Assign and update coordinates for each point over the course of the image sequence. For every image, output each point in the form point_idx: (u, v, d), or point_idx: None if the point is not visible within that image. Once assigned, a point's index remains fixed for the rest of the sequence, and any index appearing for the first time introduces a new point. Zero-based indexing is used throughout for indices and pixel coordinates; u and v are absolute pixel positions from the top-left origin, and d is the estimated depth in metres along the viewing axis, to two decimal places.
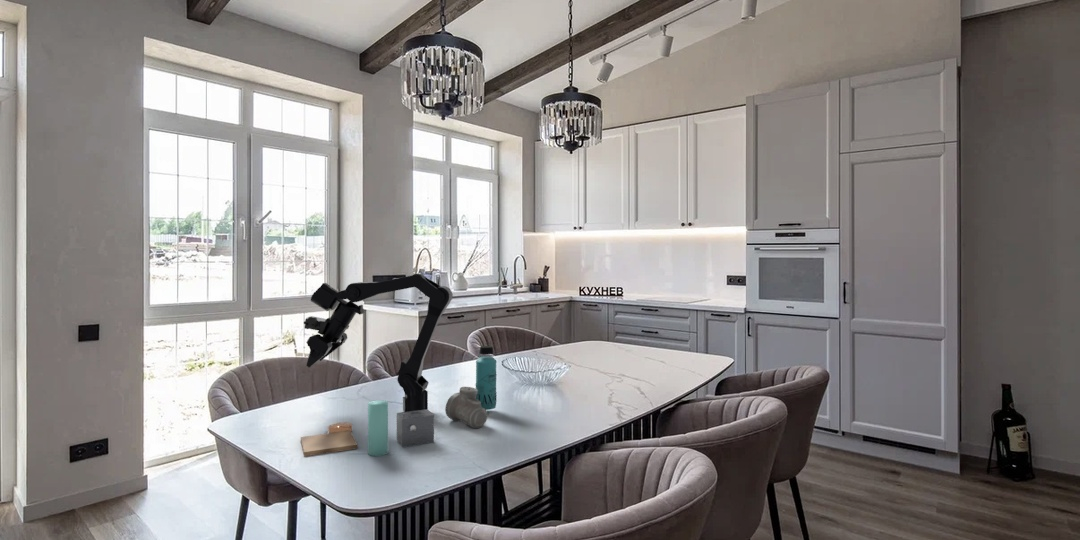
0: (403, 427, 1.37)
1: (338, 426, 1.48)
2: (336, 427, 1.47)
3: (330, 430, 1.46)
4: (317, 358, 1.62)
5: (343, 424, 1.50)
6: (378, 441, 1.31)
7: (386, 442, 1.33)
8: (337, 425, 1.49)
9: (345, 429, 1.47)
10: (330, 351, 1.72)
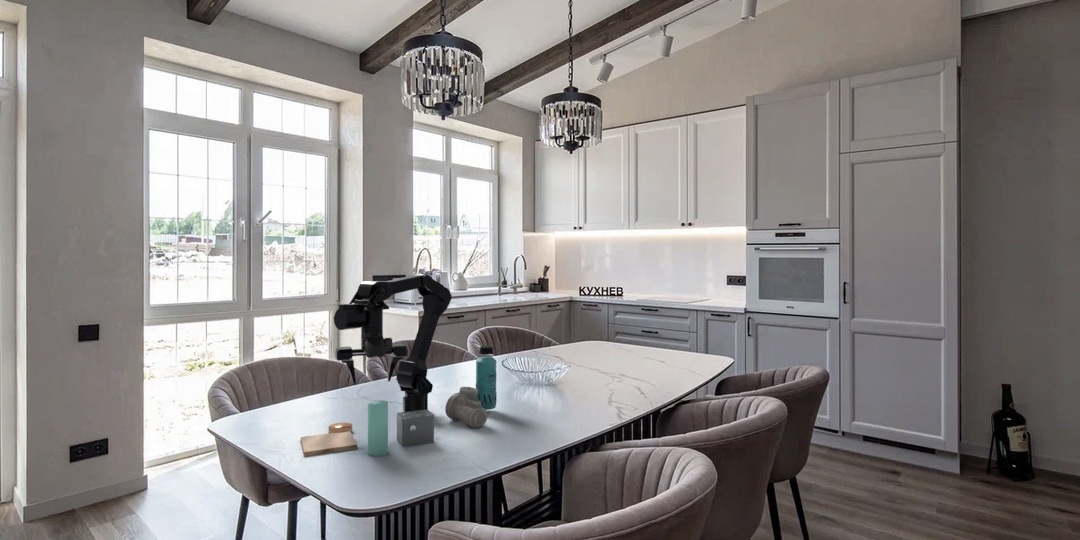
0: (403, 427, 1.37)
1: (338, 426, 1.48)
2: (336, 427, 1.47)
3: (330, 430, 1.46)
4: None
5: (343, 424, 1.50)
6: (378, 441, 1.31)
7: (386, 442, 1.33)
8: (337, 425, 1.49)
9: (345, 429, 1.47)
10: None
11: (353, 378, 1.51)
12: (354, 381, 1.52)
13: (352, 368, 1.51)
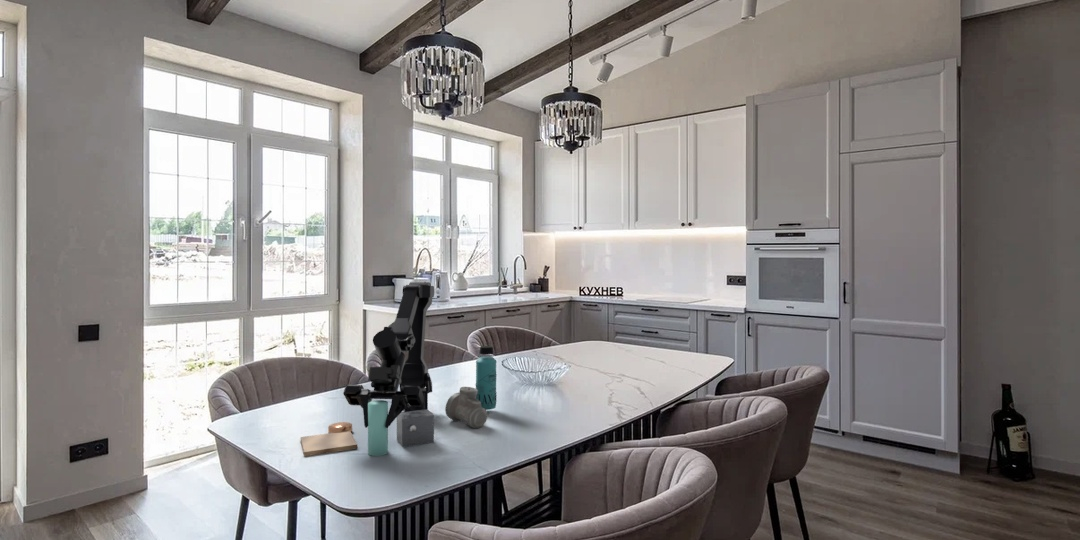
0: (403, 427, 1.37)
1: (338, 425, 1.48)
2: (336, 427, 1.47)
3: (330, 430, 1.46)
4: (396, 415, 1.36)
5: (343, 424, 1.50)
6: (378, 441, 1.31)
7: (386, 442, 1.33)
8: (337, 425, 1.49)
9: (345, 429, 1.47)
10: None
11: (365, 418, 1.33)
12: (365, 422, 1.32)
13: (365, 406, 1.34)
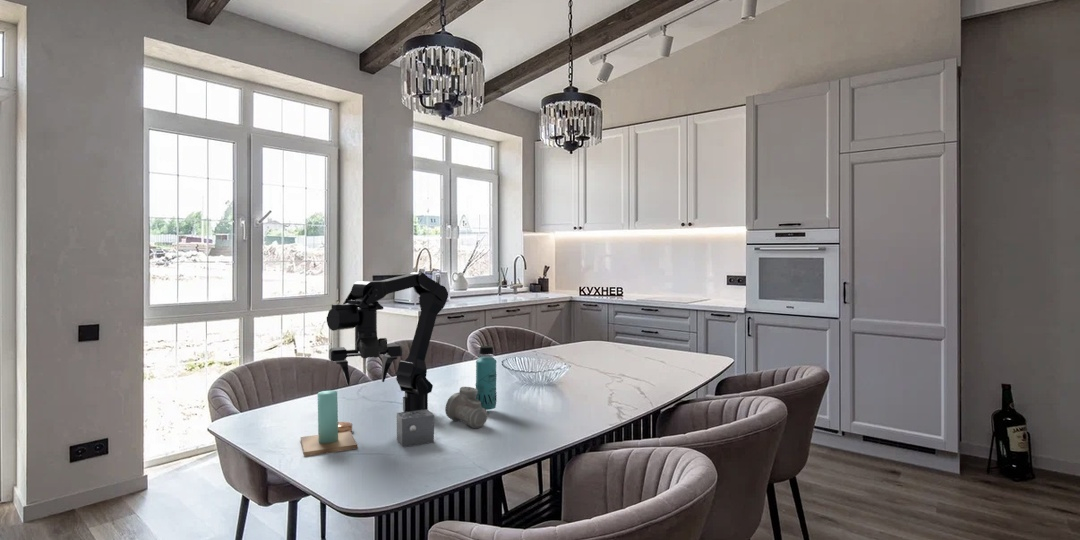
0: (403, 427, 1.37)
1: (339, 425, 1.48)
2: (339, 426, 1.47)
3: None
4: None
5: (341, 423, 1.50)
6: (324, 430, 1.36)
7: (333, 431, 1.37)
8: None
9: (350, 427, 1.48)
10: None
11: (347, 379, 1.50)
12: (348, 382, 1.51)
13: (346, 369, 1.50)
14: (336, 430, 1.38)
